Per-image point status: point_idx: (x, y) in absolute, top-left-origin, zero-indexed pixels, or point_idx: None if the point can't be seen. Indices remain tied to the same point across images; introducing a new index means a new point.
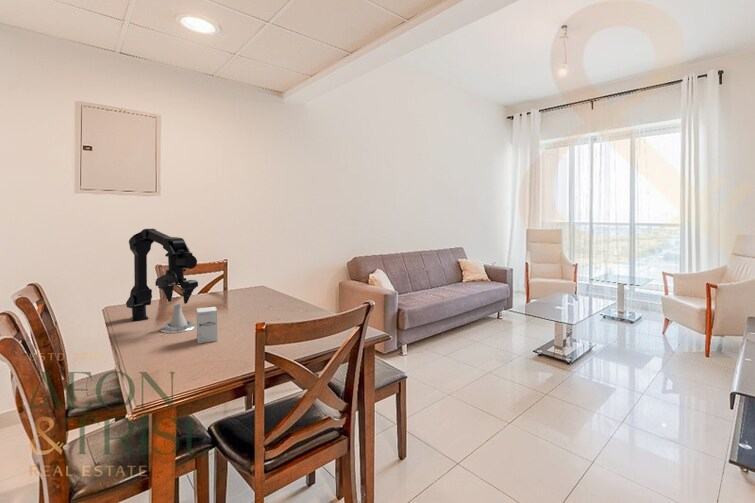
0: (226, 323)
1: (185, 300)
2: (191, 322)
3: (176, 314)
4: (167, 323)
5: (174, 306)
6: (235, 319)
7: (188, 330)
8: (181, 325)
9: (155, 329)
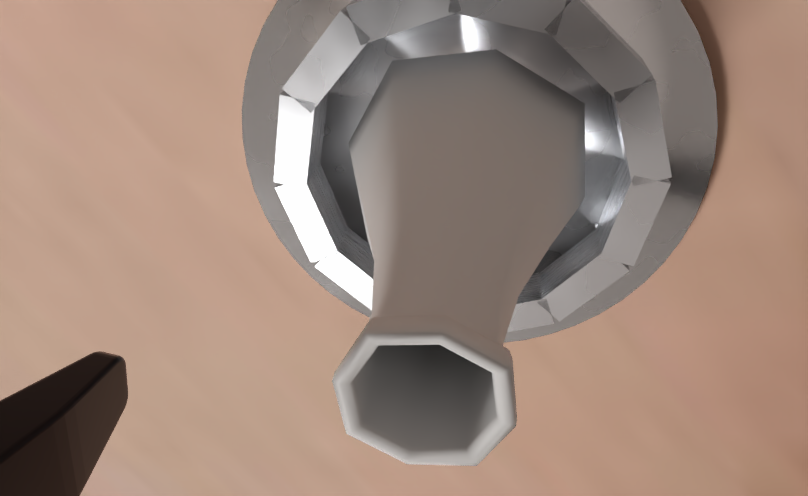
0: None
1: (4, 408)
2: (326, 264)
3: (427, 214)
4: (649, 180)
5: (455, 325)
6: (104, 472)
7: (250, 72)
8: (369, 128)
9: (796, 46)
